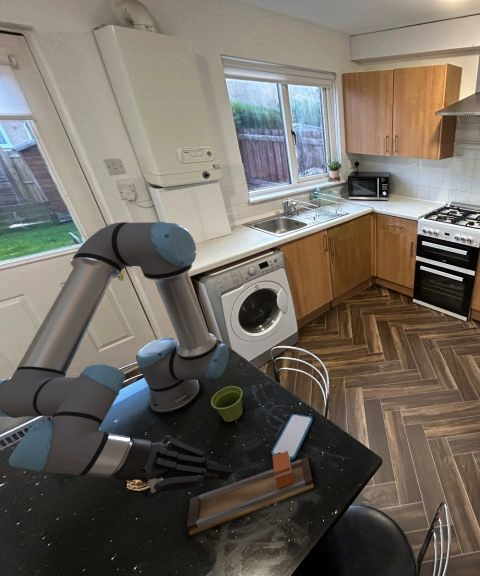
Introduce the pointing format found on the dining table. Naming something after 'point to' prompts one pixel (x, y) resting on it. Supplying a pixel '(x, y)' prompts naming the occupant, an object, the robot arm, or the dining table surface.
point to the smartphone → (292, 435)
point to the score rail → (245, 497)
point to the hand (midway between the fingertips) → (229, 473)
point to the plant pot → (228, 403)
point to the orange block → (283, 470)
